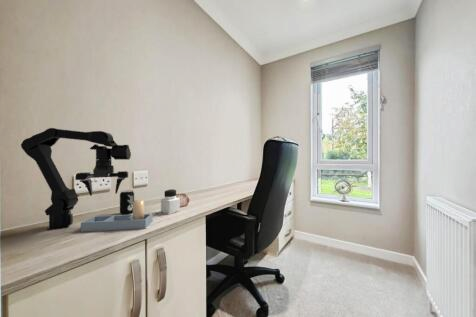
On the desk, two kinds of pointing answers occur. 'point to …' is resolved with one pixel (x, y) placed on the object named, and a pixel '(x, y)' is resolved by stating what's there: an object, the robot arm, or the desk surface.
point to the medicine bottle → (170, 202)
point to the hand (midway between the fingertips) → (104, 194)
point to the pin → (138, 210)
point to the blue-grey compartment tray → (115, 223)
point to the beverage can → (126, 202)
